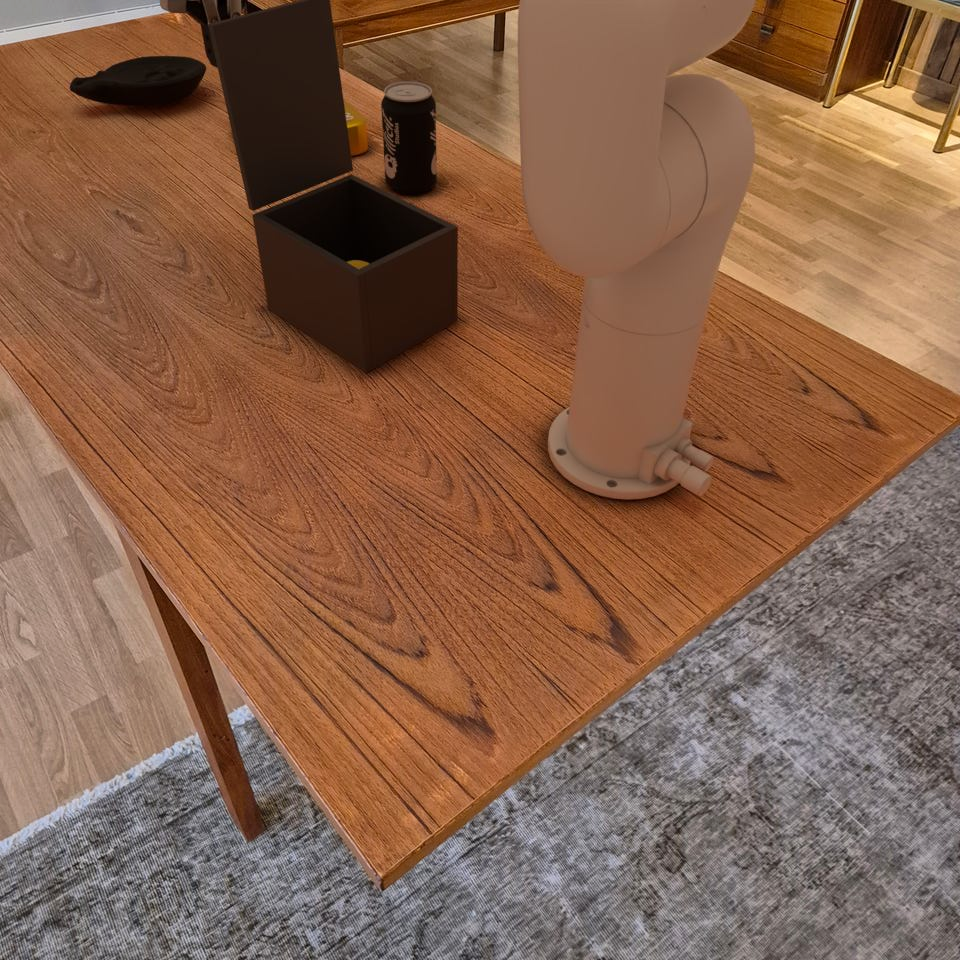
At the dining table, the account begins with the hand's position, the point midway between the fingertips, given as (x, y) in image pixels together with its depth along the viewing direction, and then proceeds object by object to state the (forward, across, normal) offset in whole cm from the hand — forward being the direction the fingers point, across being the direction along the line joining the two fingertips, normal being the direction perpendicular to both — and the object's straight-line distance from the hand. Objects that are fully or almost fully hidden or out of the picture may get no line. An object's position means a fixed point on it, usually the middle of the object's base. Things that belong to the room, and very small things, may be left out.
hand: (225, 66), depth 88 cm
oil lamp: (+21, +14, +47) cm, 53 cm away
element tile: (+21, +22, +20) cm, 36 cm away
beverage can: (+21, +24, 0) cm, 32 cm away
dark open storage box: (+20, 0, -18) cm, 27 cm away
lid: (+1, 0, -10) cm, 10 cm away
